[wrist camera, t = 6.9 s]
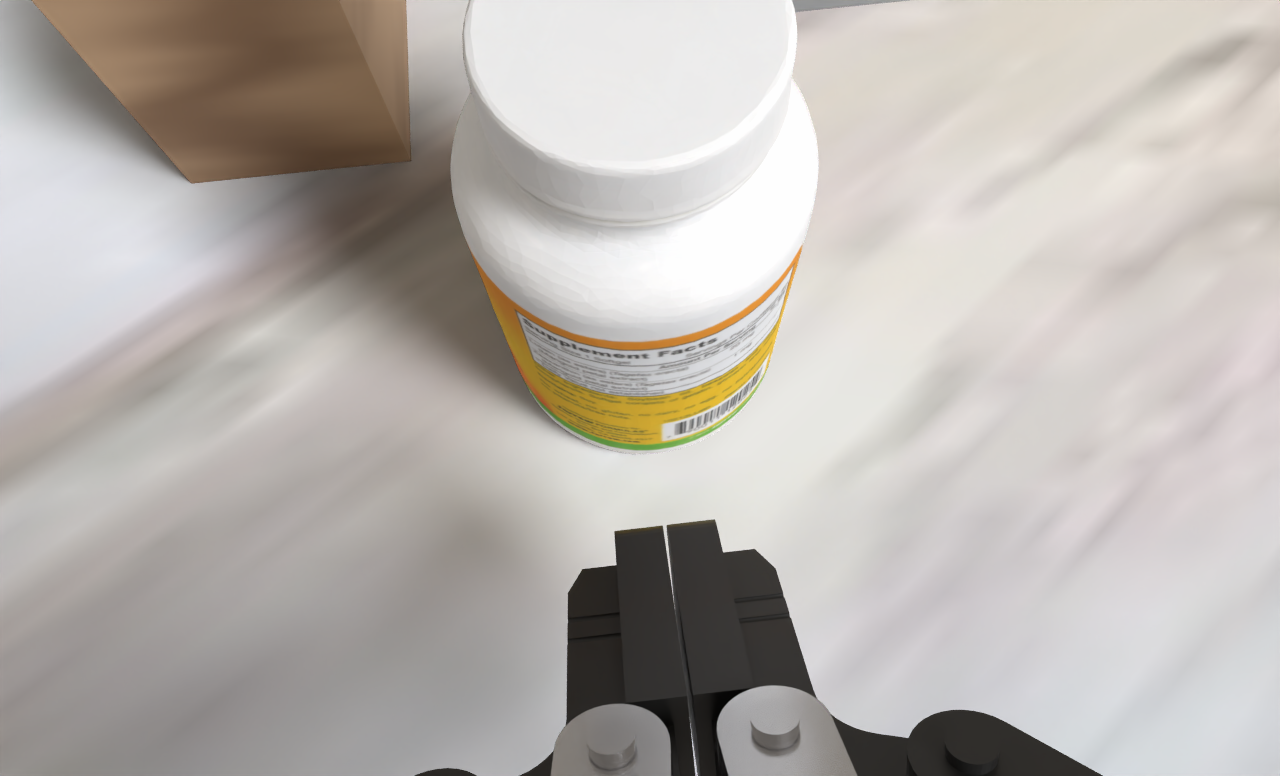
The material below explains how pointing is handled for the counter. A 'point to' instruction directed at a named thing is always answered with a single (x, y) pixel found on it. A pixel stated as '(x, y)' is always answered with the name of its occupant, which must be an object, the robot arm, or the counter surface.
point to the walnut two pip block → (252, 79)
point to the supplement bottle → (635, 203)
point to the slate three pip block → (833, 4)
